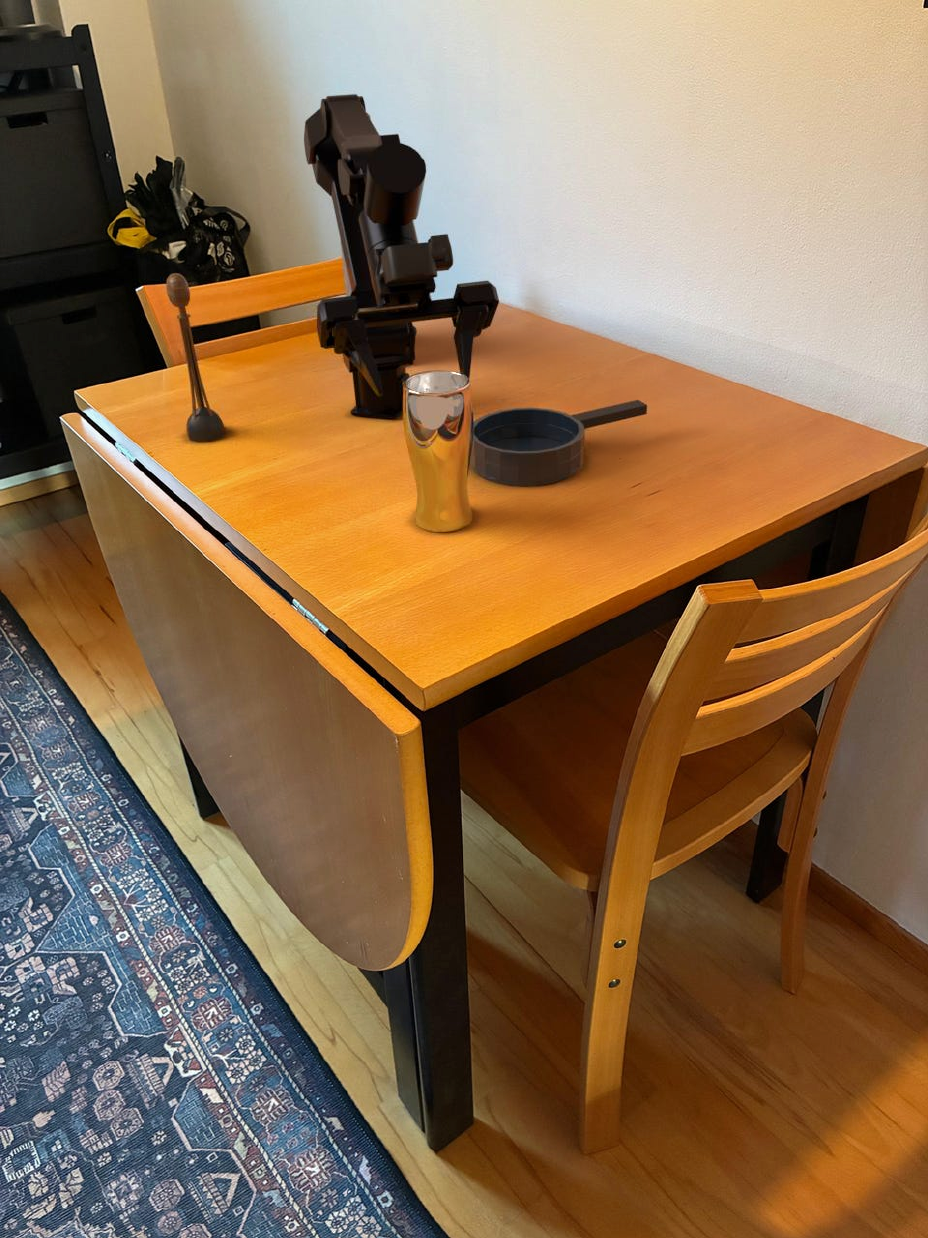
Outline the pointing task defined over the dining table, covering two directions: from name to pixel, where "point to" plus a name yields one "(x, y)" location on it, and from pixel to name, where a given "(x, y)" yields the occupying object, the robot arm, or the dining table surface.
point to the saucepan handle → (611, 413)
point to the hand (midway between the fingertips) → (424, 388)
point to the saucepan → (527, 446)
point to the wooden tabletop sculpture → (193, 369)
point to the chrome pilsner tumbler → (439, 446)
